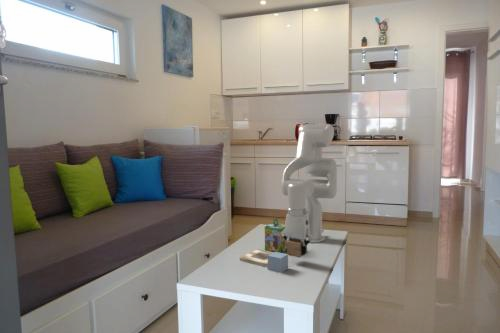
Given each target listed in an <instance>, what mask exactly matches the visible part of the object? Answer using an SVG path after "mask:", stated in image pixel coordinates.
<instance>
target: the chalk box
mask: <svg viewBox="0 0 500 333" xmlns="http://www.w3.org/2000/svg"><path fill="white" fill-rule="evenodd" d="M284 229H285V223H284V224H283V223H279V219H278V218H277V217H275V218H273V220H272V223H269V224H267V225H266V226H264V251H269V252H279V253H284V251H286V250H287V243H286V240H285V239H284V238H283V236H282V235H281V232H282V231H283V230H284Z"/></svg>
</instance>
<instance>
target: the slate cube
mask: <svg viewBox="0 0 500 333" xmlns="http://www.w3.org/2000/svg"><path fill="white" fill-rule="evenodd" d="M288 269H289V255H288V254H287V253H284V252H282V253H281V252H275V251H273V253H272V254H270V255H268V267H267V270H269V271H270V272H275V273H280V274H281V273H283V272H285V271H286V270H288Z"/></svg>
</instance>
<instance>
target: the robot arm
mask: <svg viewBox="0 0 500 333" xmlns="http://www.w3.org/2000/svg"><path fill="white" fill-rule="evenodd" d="M334 135H335V129H334V127H333V125H332V124H330V123H308V124H307V123H306V124H301V125H299V127H298V139H297V146H296V153H295V157H294V158H293V159H292V160H291V162H289V163H288V164H287V166H286V167H285V169H284V170H283V173H282V177H281V178H282V179H281V184H280V190H281V193H282V195H284V196H286V197H287V214H286V215H285V216H286V217H285V222H284V225H285V229H284V230H283V231H282V232H281V235H282V236H283V238H284V239H285V240H286V243H287V241H289V240H290V239H292V238H295V239H300V240H301V242H302V247H301V255H303V256H305V255H306V254H307V252H308V246H307V245H309V244H310V243H313V244H315V243H322V242H324V241H325V239H326V237H325V236H324V235H322V234H323V233H324V231H325V229H323V206H322V204H321V201H320V200H319V199H329V200H330V199H335V197H336V196H337V192H338V191H337V190H338V181H337V180H338V168H337V167H338V166H337V162H336V160H335V159H334V158H328V157H327V158H324V157H323V148H327V147H329V146H330V144H331V142H332V140H333V138H334ZM303 168H304V172H305V174H306V176H309V177H312V178H311V179H310V178H309V179H295V178H294V179H293V178H291V176H292V175H293V174H294V173H295V172H297V171H299V170H301V169H303ZM313 177H314V178H315V177H316V178H317V177H319V178H326V179H318V178H317V179H316V178H315V179H314V178H313ZM304 254H305V255H304Z"/></svg>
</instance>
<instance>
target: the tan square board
mask: <svg viewBox="0 0 500 333" xmlns="http://www.w3.org/2000/svg"><path fill="white" fill-rule="evenodd" d="M272 253H274V251H267V250H265V249H258V248H257V249H255V250H252V251H251V252H248V253H246V254H245V255H242V256H240V257H239V261H241V262H244V263H247V264H248V263H249V264H253V265H257V266H261V267H265V268H268V255H270V254H272Z"/></svg>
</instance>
